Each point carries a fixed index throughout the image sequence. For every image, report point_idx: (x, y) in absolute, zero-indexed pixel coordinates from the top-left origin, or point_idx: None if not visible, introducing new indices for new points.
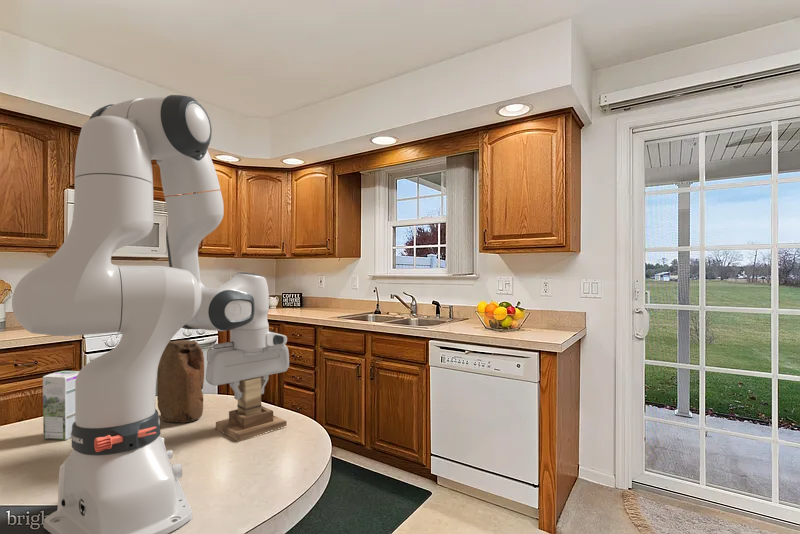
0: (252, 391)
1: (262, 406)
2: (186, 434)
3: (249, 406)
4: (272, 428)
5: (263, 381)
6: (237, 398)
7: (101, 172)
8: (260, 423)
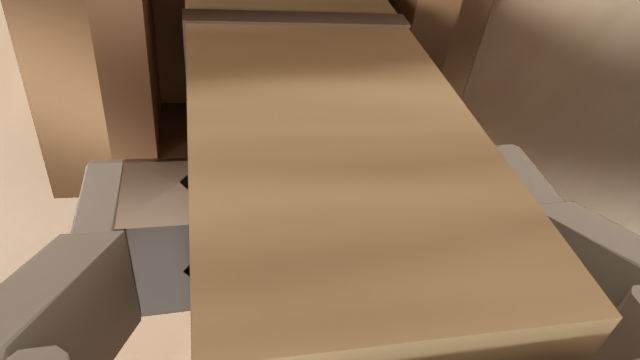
0: (370, 146)
1: (106, 103)
2: (561, 173)
3: (363, 30)
4: None
5: (54, 341)
6: (516, 155)
7: None
8: None
